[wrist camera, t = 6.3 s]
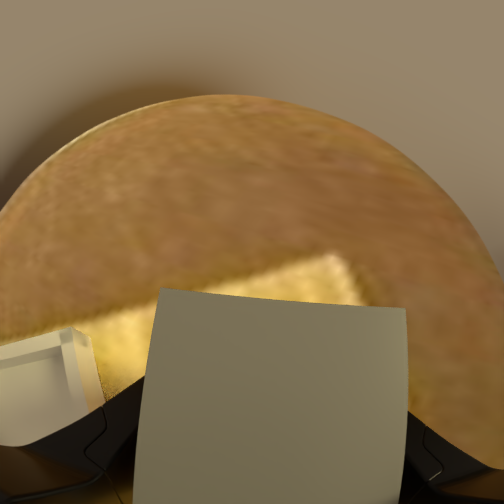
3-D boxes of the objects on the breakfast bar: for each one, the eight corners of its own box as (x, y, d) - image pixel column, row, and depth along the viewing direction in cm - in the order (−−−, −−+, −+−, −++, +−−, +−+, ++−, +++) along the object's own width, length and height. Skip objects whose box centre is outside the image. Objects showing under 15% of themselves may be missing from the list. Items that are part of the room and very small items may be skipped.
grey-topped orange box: (294, 456, 13) (392, 535, 3) (201, 449, 13) (131, 528, 3) (300, 371, 15) (404, 308, 5) (211, 363, 15) (160, 287, 5)
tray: (139, 499, 14) (125, 511, 12) (15, 501, 12) (-7, 506, 10) (90, 337, 20) (70, 326, 17) (-18, 364, 17) (-41, 357, 15)
